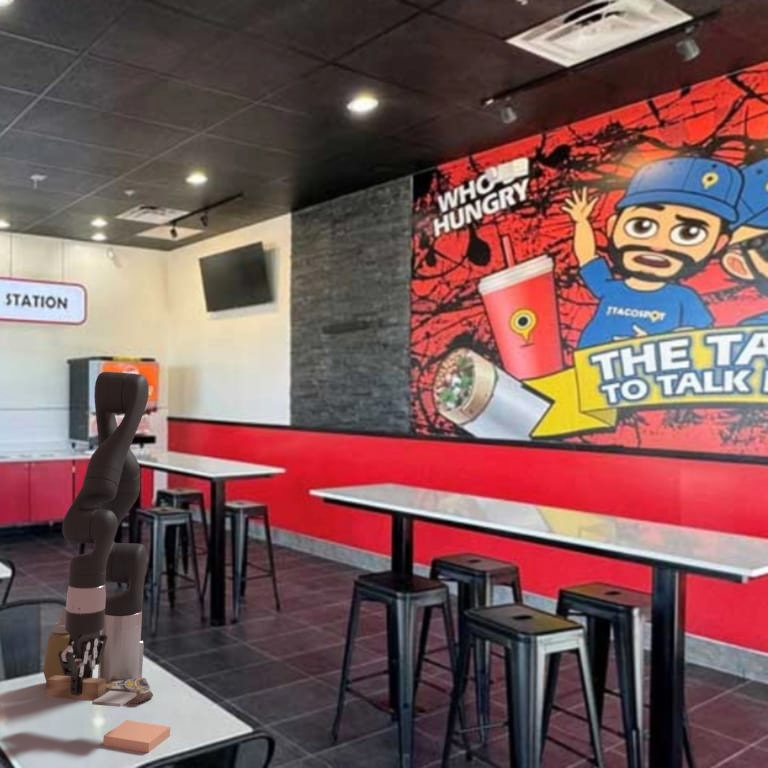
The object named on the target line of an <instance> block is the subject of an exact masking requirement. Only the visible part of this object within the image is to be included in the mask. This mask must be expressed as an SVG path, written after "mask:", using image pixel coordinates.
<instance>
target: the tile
mask: <svg viewBox="0 0 768 768" xmlns="http://www.w3.org/2000/svg"><path fill="white" fill-rule="evenodd" d="M170 736H171V726H166V725H161V724H154V723H147V722H140V721H135V720H134V721H133V720H129V719H128V720H127V719H126V720H124V721H123V722H122V723H119V725H118V726H115V728H113V729H111V730H109V732H107V733H106V734H104V735H103V741H102V742H103V744H102V745H103V746H107V747H112V748H118V749H125V750H131V751H135V752H142V753H150V752H151V751H153V750H155V749H156V748H157V747H158V746H159V745H160V744H162V743H163V742H164V741H166V740H167V739H168V738H169V737H170Z"/></svg>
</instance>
